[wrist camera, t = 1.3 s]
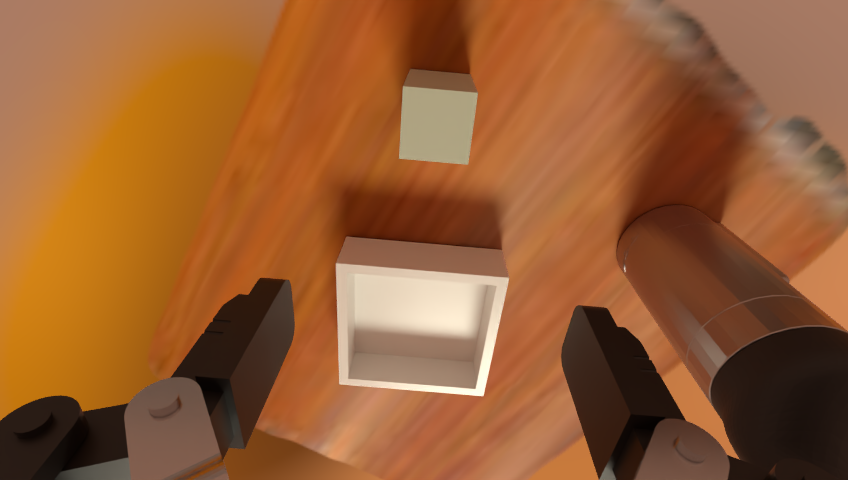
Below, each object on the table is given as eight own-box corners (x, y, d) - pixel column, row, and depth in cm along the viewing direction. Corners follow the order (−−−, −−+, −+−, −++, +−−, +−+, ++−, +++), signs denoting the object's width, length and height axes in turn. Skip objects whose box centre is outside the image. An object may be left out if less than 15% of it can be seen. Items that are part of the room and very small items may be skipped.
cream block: (470, 74, 35) (477, 92, 28) (462, 133, 37) (468, 164, 31) (410, 68, 35) (402, 86, 28) (406, 128, 37) (399, 158, 30)
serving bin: (502, 249, 43) (509, 277, 39) (479, 362, 51) (483, 396, 47) (346, 236, 43) (335, 263, 39) (347, 351, 51) (339, 384, 47)
